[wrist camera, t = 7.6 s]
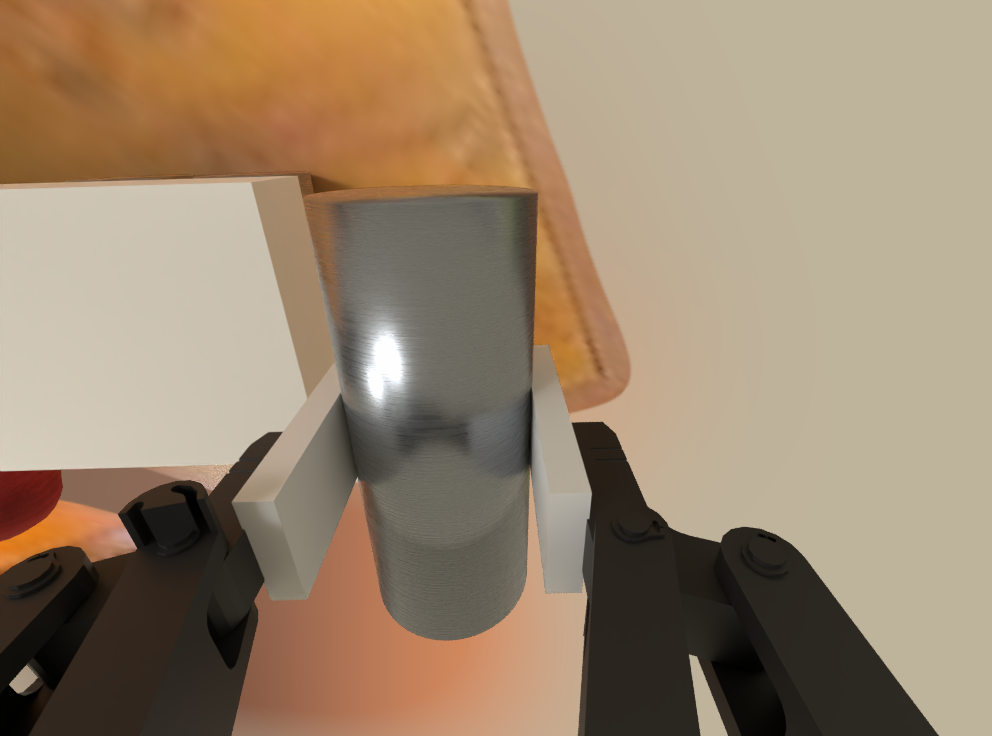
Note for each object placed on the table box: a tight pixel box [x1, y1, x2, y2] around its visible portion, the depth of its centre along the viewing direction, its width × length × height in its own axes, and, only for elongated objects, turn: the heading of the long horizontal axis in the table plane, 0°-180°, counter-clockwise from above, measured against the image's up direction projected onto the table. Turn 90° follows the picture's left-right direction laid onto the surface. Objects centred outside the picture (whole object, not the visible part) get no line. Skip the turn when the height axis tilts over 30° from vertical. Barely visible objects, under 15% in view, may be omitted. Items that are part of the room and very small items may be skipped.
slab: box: [0, 176, 335, 471], centre depth 19 cm, size 16×12×4 cm
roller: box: [303, 185, 538, 640], centre depth 12 cm, size 5×12×5 cm, turn 1°
